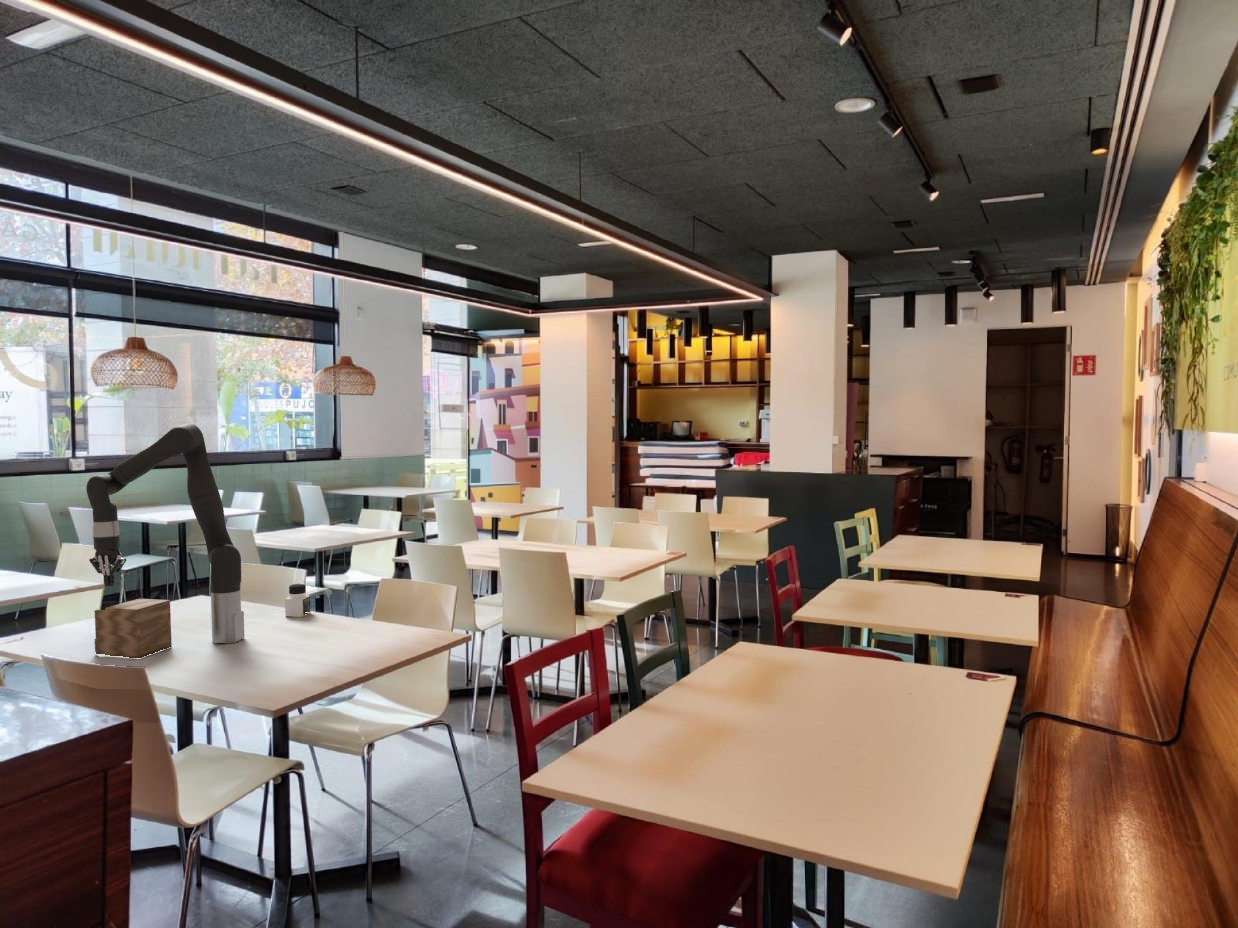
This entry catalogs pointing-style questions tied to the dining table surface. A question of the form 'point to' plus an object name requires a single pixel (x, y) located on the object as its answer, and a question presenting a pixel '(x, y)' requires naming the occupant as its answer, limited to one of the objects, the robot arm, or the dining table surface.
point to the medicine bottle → (297, 601)
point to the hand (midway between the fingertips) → (109, 585)
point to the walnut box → (133, 628)
